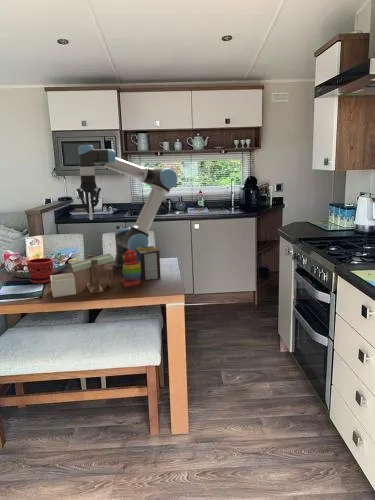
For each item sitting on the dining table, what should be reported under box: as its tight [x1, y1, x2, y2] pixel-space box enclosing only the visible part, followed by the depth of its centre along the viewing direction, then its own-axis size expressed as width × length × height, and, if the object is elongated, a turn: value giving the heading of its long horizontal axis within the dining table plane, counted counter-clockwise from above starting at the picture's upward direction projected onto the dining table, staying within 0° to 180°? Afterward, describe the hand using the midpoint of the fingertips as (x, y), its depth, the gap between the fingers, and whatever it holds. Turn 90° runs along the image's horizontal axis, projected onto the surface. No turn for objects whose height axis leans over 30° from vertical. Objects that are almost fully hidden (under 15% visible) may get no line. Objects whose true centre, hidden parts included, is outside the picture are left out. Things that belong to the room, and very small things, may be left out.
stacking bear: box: [119, 250, 142, 288], centre depth 197 cm, size 11×10×18 cm
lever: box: [67, 253, 115, 272], centre depth 193 cm, size 21×18×3 cm
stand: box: [85, 254, 115, 294], centre depth 191 cm, size 12×15×16 cm
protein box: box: [136, 245, 162, 281], centre depth 209 cm, size 10×15×16 cm
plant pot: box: [26, 257, 54, 285], centre depth 205 cm, size 13×13×12 cm
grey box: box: [50, 272, 77, 298], centre depth 185 cm, size 11×11×8 cm
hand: (91, 219), depth 206 cm, fingers closed
